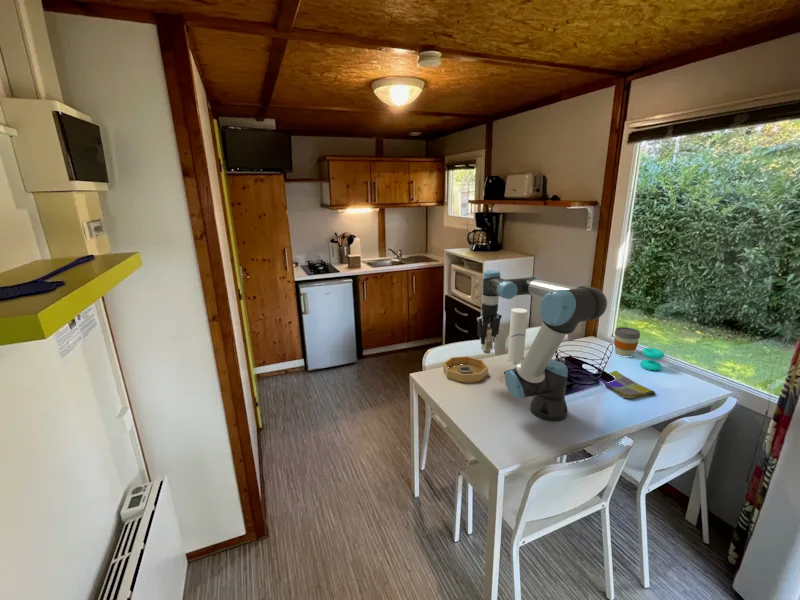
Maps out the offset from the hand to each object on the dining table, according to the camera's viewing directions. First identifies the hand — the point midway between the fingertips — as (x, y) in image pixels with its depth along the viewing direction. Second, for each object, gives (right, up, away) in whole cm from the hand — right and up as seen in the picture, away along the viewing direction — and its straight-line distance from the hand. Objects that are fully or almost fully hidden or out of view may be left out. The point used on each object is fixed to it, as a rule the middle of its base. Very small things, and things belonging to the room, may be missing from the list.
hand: (487, 349), depth 183 cm
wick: (0, -1, 0) cm, 2 cm away
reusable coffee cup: (+89, -8, +38) cm, 97 cm away
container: (+24, -11, +32) cm, 41 cm away
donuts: (+94, -13, +21) cm, 97 cm away
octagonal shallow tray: (-8, -15, +17) cm, 24 cm away
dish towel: (+67, -19, +2) cm, 70 cm away
